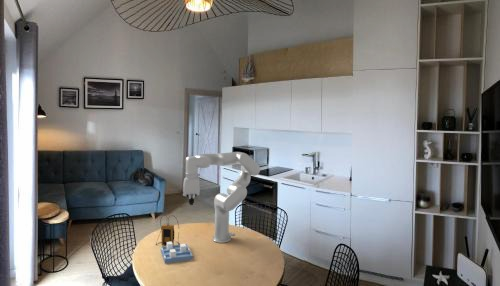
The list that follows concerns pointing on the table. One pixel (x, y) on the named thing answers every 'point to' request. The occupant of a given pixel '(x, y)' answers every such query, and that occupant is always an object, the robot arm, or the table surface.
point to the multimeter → (168, 233)
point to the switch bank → (179, 255)
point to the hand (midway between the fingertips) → (191, 204)
